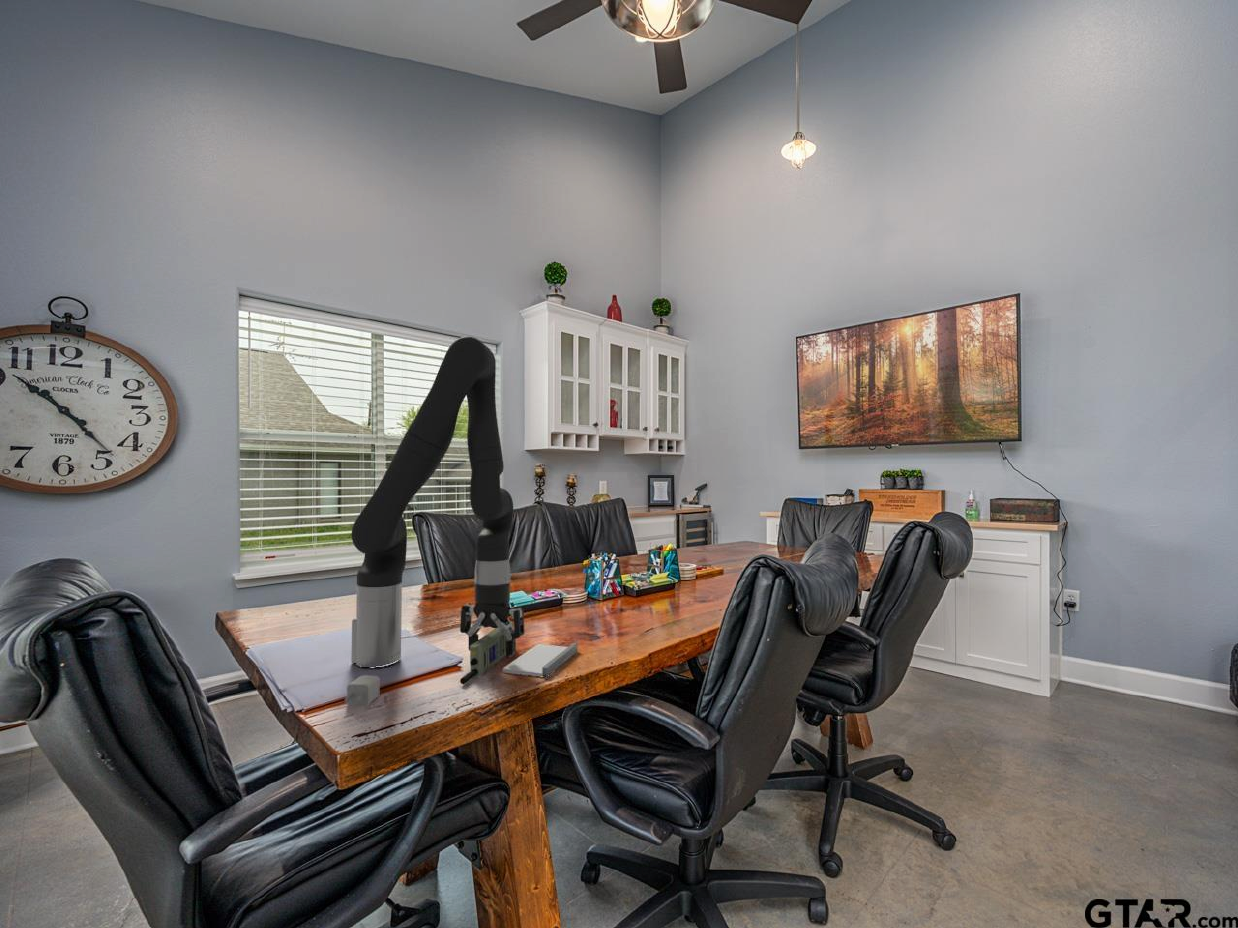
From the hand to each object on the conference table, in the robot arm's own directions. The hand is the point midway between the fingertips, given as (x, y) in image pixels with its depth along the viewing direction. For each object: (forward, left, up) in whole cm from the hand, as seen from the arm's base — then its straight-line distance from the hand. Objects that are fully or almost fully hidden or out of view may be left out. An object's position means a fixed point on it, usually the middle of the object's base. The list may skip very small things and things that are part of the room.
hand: (492, 654), depth 127 cm
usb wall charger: (-12, -26, -3) cm, 29 cm away
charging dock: (+9, +6, -2) cm, 11 cm away
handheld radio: (-1, 0, -3) cm, 3 cm away
